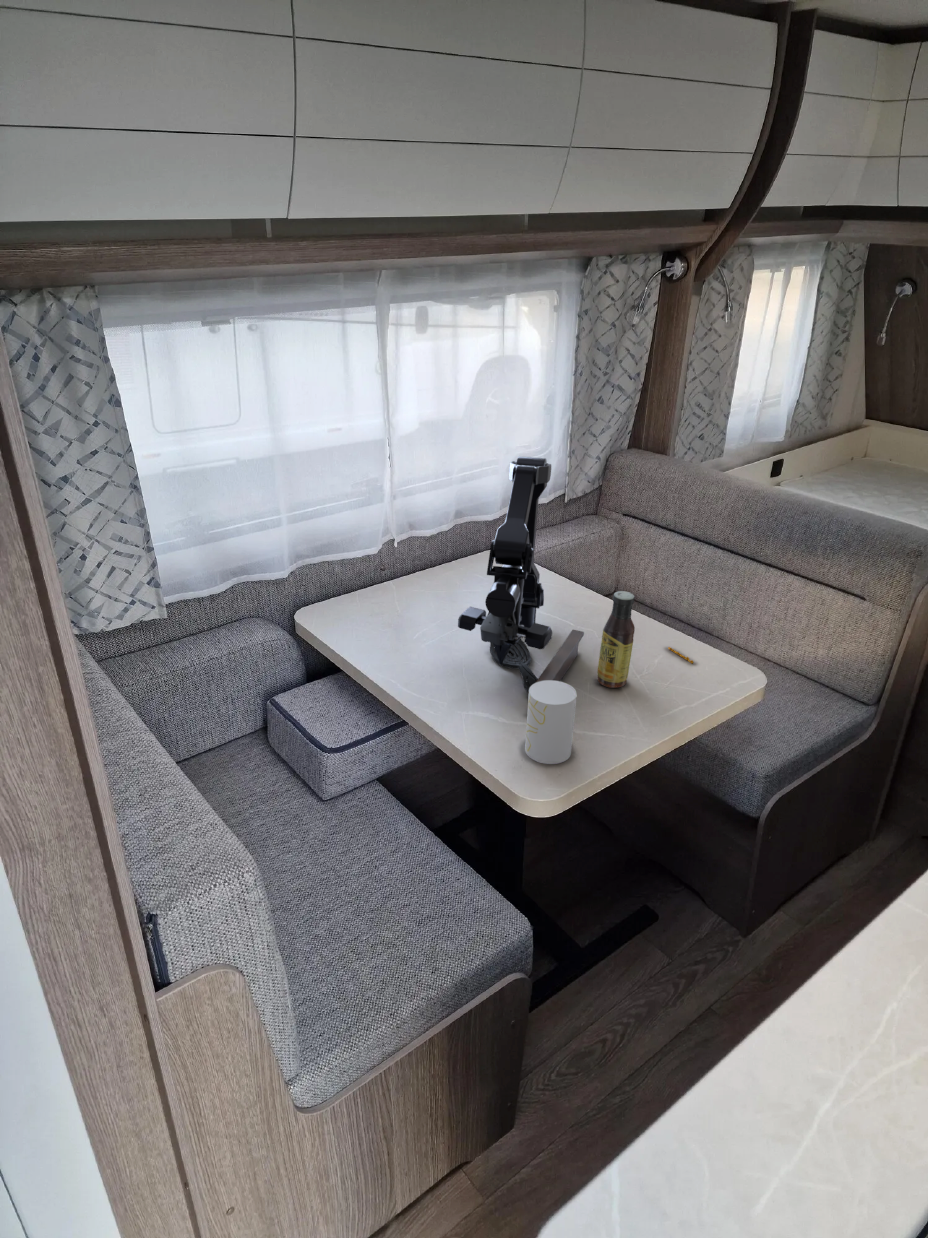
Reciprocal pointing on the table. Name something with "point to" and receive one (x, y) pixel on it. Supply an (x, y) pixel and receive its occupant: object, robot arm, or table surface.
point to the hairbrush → (518, 662)
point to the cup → (550, 721)
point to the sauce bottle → (617, 642)
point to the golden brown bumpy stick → (680, 654)
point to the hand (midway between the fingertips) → (501, 663)
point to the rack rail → (562, 658)
